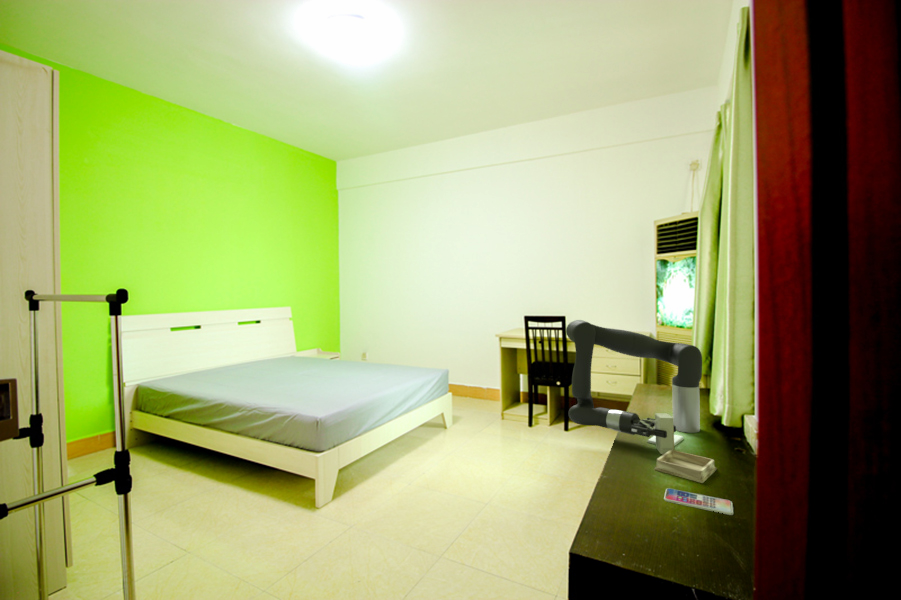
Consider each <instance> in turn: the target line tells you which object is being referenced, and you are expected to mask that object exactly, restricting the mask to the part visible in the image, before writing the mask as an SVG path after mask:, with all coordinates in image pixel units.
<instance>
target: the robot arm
mask: <svg viewBox="0 0 901 600" xmlns="http://www.w3.org/2000/svg"><path fill="white" fill-rule="evenodd" d="M565 332H566V335H567V337H568V339H569V340H570V341H571V342H573V343H574V347H575V361H574V365H573V370H572V376H571V393H572V396H573V398H575V399H576V400H577V404H575V405H573V406H571V407H570V408H569V409H568V417H569V419H570V420H571V421H572V422H573V423H574V424H576V425H581V426H590V427H591V426H593V427H594V426H597V427H599V428H600V427H602V428H605V429H609V430H613V431H615V432H620V433H624V434H628V435H633V436H634V435H637V436H642V437H647V438H651V437H653V436H658V437H662V438H666V437H667V432H666V431H664V430H659V429H655V418H650V417H647V418H643V419H640V416H639V415H638V413H635V412H631V411H627V410H626V411H625V410H620V409H611V408H606V407H595V406H594V401H593V396H592V394H591V393H592V385H591V384H592V364H593V363H592V361H593V354H594V347H595V345H596V346H600V347H603V348H606V349H608V350H610V351H612V352H613V351H614V352H616V353H620V354H622V355H626V356H631V357H635V358H642V359H643V358H645V359H655V360H659V361H662V362H666V363H669V364H671V365H673V366H674V365H675V366H677V374H676V375H675V376H673V377H672V379H671V384H672V385H671V388H672V390H671V393H672V417H673V425H674V433H675V432H676V431H678V432H681V433H682V432H683V433H687V434H688V433H689V434H690V433H692V434H693V433H694V434H695V433H699V432H700V431H701V424H700V422H701V418H700V417H701V416H700V413H701V410H700V409H701V408H700V404H701V403H700V402H701V401H700V382H701V380H702V376H703V375H702V374H703V355H702V352H701V351H700V349H699V347H697V346H695V345H693V344H687V343H682V342H669V341H662V340H658V339H655V338H653V337H651V336H649V335H646V334H642V333H640V332H634V331H631V330H624V329H617V328H608V327H602V326H598V325H595V324H592V323H590V322H588V321H586V320H582V319H575V320H573V321H570V322H569V323H568V324H567V326H566V329H565Z"/></svg>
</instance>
